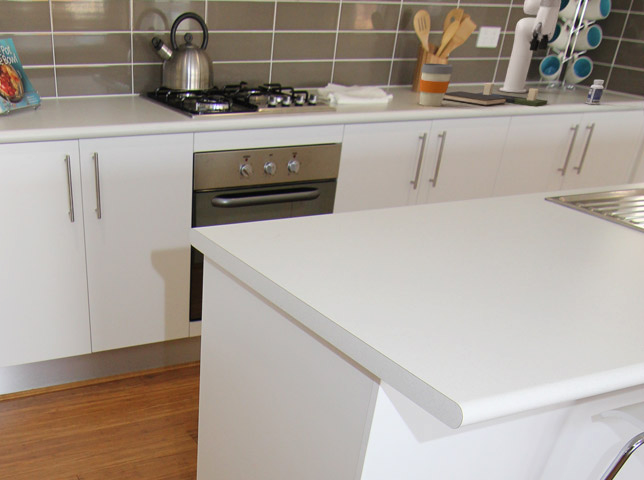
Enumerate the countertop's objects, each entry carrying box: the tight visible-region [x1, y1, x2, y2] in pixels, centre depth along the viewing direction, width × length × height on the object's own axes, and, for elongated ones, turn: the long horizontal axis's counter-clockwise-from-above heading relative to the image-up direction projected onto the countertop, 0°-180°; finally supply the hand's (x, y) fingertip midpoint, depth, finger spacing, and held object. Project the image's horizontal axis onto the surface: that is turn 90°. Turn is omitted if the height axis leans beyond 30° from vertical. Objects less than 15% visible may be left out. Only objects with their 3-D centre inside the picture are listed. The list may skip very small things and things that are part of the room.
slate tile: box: [475, 82, 504, 97], centre depth 331 cm, size 12×13×6 cm
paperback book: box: [443, 90, 507, 107], centre depth 321 cm, size 16×23×2 cm
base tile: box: [497, 94, 524, 104], centre depth 328 cm, size 12×10×2 cm
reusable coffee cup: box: [419, 62, 454, 107], centre depth 305 cm, size 13×13×15 cm
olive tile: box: [513, 87, 548, 107], centre depth 321 cm, size 12×13×6 cm
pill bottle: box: [585, 79, 605, 106], centre depth 327 cm, size 5×5×10 cm
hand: (537, 49), depth 316 cm, fingers open, 9 cm apart
